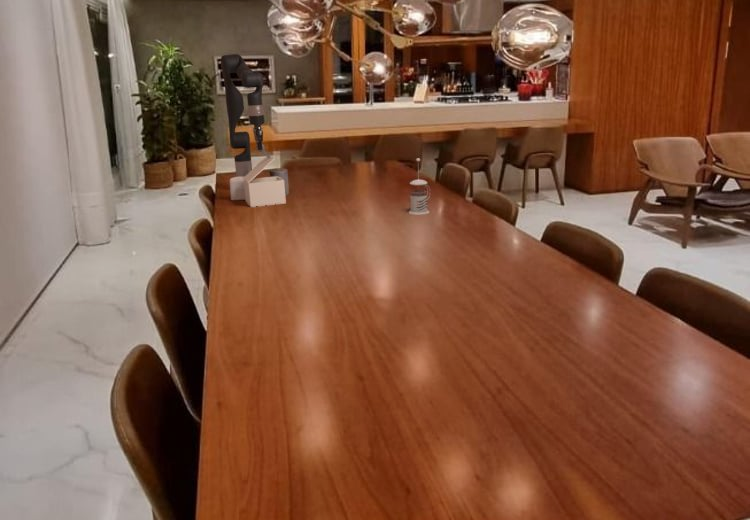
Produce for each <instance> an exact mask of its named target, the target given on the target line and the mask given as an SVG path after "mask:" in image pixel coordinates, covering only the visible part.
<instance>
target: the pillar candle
mask: <svg viewBox="0 0 750 520" xmlns="http://www.w3.org/2000/svg"><path fill="white" fill-rule="evenodd" d="M275 176H278V177H280V178H282V179H283V180H284V185H285V197H286V196H288V195H289V194H290V189H289V188H290V187H289V173H288V169H287V168H283V167H282V168H279V167H277V168H273V169H272V168H271V169H269V177H275Z"/></svg>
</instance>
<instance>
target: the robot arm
mask: <svg viewBox="0 0 750 520" xmlns="http://www.w3.org/2000/svg"><path fill="white" fill-rule="evenodd" d="M220 65H221V72H222V73H221V74H222V78H223V84H224V92H225V93H224V94H225V104H226V112H227V117H228V129H229V130H228V131H229V132H228V133H229V143H230V147H231V148H232V149H233V150H238V149H239V150H240V149H244V150H243V151H241V152H240V153H238V154H236V155H235V156H234V167H235V175H236V176H235V177H239V176H242V177H245V176H246V175H247V174H248V173H249V172H250V171H251V170H252V169H253V163H252V155H251V139H250V138H251V137H250V133H249V132H248V131H236V128H237V124H238V122H239V120H240V118H241V117H242V115H243V113H244V111H245V103H244V96H243V95H242V93H241V91H240V90H239V88H237V86H236V85H235V84H234V82H233V80H232V78H231V74H233V73H236V75H237V77H238V78H239V79H240V80H241V84H242V86H243V87H244V88H247V89H251V88H252V89H253V88H255V90H254V91H253V92H252V91H251V92H249V93H247V94H246V97H247V99H246V100H247V108H248V109H247V114H248V123H249V125H250V126H253V128H252V132H253V136H254V141H255V142H256V146H257V145H258V150H262V149H263V148H262V144H263V141H264V131H263V127H262V125H264V124H265V120H266V119H265V111H264V106H263V98H262V97H263V96H262V95H263V86H264V75H263V74H262V73H261V72H257V71H256V72H254V71H253V70H252V68H250V67H249V66H248V65H247V63H246V62H245V60H244V58H243V57H242V55H240V54H239V53H233V54H232V53H231V54H223V55H221V57H220ZM258 150H257V151H258Z"/></svg>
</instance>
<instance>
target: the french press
mask: <svg viewBox="0 0 750 520" xmlns="http://www.w3.org/2000/svg"><path fill="white" fill-rule="evenodd" d="M415 161H416V162H420V161H421V158H419V157H418V158H416V159H415ZM419 166H420V165H419V164H417V177H418V178H417V179H414V180H412V181H410V182H409V184H410V186H417V188H418V190H417V189H416V190H411V191H410V193H411V194H410V196H409V198H410V210H408V214H410V215H415V216H416V215H418V216H419V215H428V214H429V213H430V211H429V209H428V200H429V199H430V197H431V194H429V190H431V188H430V186H429V185H428V181H426V180H424V179H420V175H419V174H420V173H419V169H420V168H419ZM420 186H422V187H423V188H424V189H427V191H426V190H424V189H420ZM428 195H429V196H428Z"/></svg>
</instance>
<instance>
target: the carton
mask: <svg viewBox="0 0 750 520" xmlns="http://www.w3.org/2000/svg"><path fill="white" fill-rule="evenodd" d="M244 188H245V198H246V200H245V203H246V202H247V203H246V205H248V206H249V207H250V208H257V207H256V206H258V207H265V205H267V206H273V205H274V206H275V204H276V205H284V204H287V200H286V199H287V198H286V196H285V185H284V180H283V179H282V178H280V177H278V176H275V177H270V176H265V177H257V178H256V177H255V178H254V179H253V180H251V181H250V182H249V183H247V182H246V181H245V180H244Z"/></svg>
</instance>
